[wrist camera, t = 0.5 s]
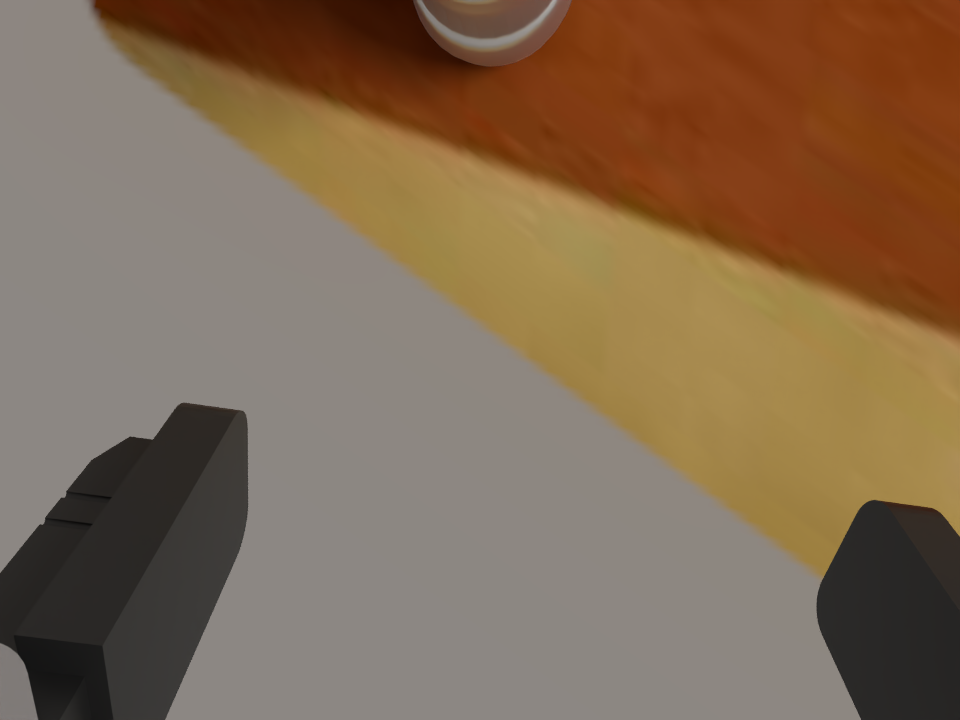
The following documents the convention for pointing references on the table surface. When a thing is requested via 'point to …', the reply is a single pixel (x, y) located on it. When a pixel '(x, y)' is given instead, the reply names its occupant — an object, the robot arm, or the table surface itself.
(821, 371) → the table surface
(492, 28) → the plastic bottle
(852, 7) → the table surface
